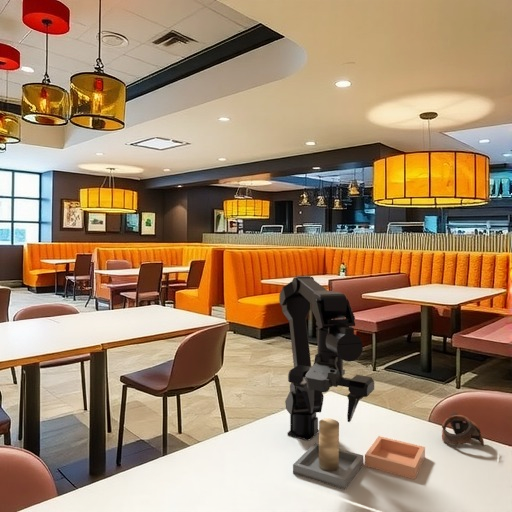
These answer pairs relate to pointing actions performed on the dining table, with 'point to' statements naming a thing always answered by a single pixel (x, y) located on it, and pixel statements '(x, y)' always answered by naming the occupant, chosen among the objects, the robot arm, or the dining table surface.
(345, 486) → the charcoal tray
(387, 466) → the terracotta dish
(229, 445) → the dining table surface
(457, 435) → the dark brown vr controller
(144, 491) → the dining table surface
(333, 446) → the maple peg
